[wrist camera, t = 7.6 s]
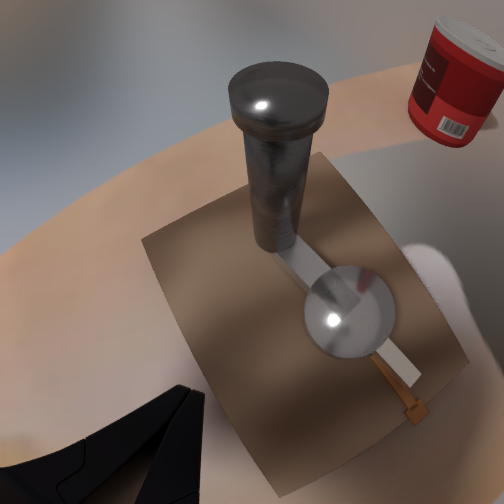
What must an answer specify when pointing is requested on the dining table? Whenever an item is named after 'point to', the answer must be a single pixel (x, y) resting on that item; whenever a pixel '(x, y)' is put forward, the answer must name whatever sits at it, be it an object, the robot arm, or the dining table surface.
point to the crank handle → (289, 209)
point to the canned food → (456, 83)
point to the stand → (297, 330)
